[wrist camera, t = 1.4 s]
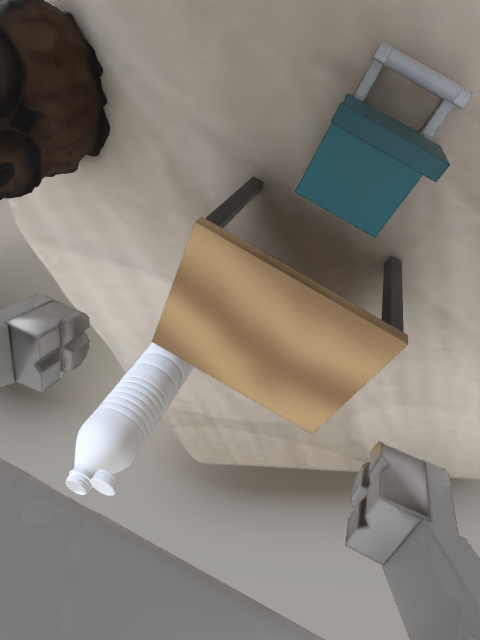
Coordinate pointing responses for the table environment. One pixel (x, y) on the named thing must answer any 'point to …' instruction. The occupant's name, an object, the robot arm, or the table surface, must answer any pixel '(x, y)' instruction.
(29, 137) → the owl
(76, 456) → the water bottle
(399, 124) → the chair
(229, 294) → the desk
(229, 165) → the table surface
